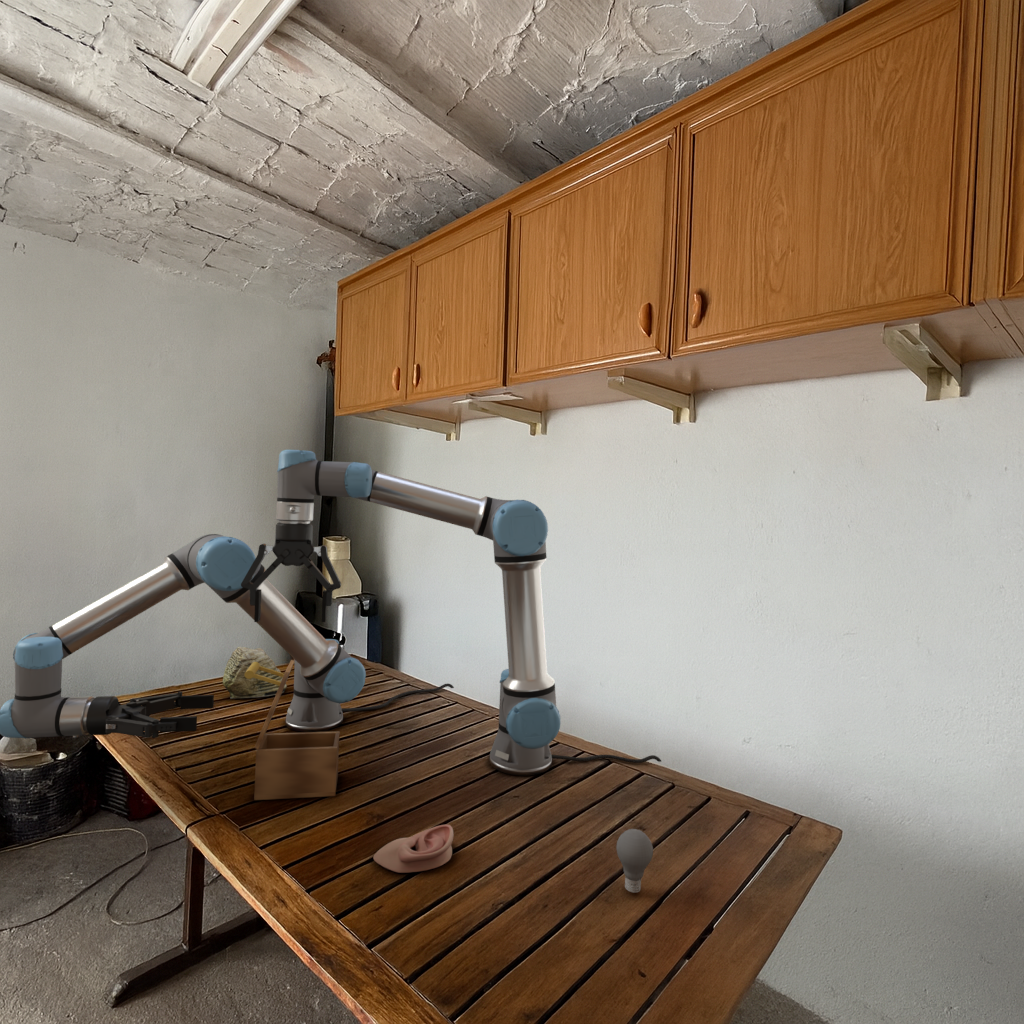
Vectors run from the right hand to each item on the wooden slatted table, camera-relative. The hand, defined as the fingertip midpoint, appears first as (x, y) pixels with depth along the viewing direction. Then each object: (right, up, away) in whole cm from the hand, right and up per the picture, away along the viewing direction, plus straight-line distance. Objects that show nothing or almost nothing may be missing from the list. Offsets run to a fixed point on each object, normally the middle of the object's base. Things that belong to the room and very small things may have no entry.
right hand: (290, 621), depth 136 cm
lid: (-3, -18, 0) cm, 18 cm away
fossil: (-33, -34, +62) cm, 78 cm away
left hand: (-17, -19, -3) cm, 25 cm away
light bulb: (+68, -40, -30) cm, 84 cm away
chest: (+1, -36, +1) cm, 36 cm away
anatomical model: (+30, -38, -23) cm, 54 cm away
